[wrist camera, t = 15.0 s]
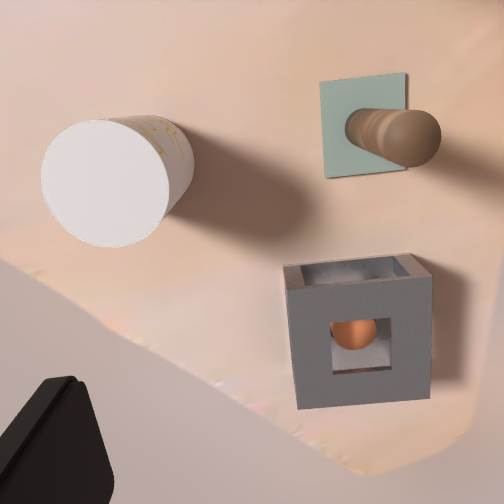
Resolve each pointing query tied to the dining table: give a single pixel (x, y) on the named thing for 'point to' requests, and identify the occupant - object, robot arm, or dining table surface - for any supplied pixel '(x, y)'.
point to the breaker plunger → (354, 333)
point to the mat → (342, 106)
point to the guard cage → (352, 309)
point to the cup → (116, 177)
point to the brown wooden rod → (395, 134)
